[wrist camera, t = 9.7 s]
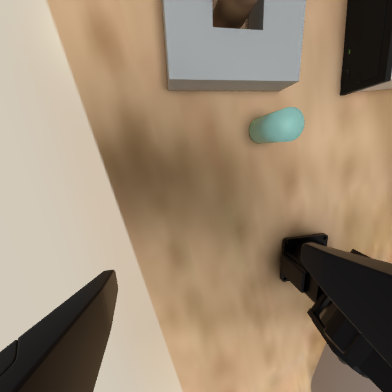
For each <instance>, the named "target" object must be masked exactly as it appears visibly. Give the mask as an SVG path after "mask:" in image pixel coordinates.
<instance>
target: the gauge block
mask: <svg viewBox="0 0 392 392" xmlns="http://www.w3.org/2000/svg"><path fill="white" fill-rule="evenodd" d="M305 5H306V0H258V1H257V3H256V4H255V6H254V7H253V9H252V11H251V12H250V14H249V15H248V29H234V28H218V27H213V12H212V0H162V10H163V24H164V38H165V51H166V65H167V79H168V90H177V91H281V90H283V89H285V88H287V87H288V86H290V85H292V84H294V83H296V82H298V81H299V75H300V63H301V52H302V40H303V28H304V17H305Z"/></svg>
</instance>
